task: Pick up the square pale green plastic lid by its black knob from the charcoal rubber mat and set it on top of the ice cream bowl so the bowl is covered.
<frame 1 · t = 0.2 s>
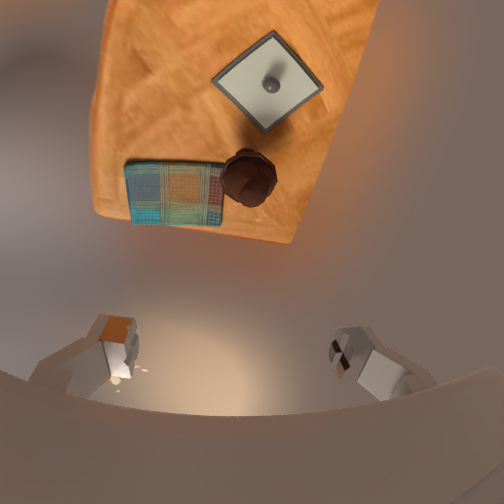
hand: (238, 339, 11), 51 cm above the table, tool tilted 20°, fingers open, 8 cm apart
mat: (268, 82, 47), on the table
dish towel: (174, 192, 63), on the table
lid: (268, 82, 47), resting on mat
ice cream bowl: (246, 159, 59), on the table
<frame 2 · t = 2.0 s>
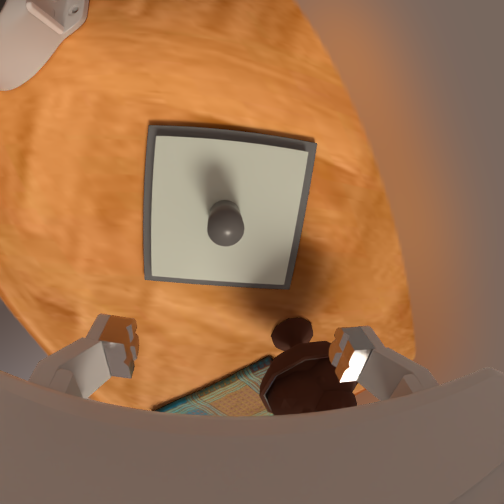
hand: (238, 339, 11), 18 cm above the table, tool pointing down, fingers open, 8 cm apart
mat: (224, 211, 27), on the table
dish towel: (235, 408, 41), on the table
lid: (224, 213, 27), resting on mat
ice cream bowl: (292, 333, 35), on the table
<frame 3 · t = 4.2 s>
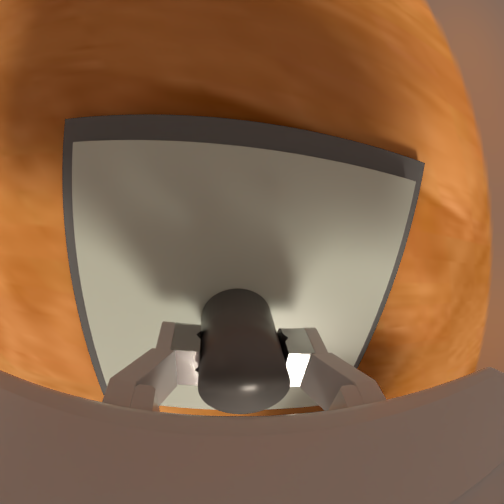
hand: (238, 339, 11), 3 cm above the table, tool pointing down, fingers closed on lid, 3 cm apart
mat: (235, 302, 13), on the table
lid: (235, 307, 13), resting on mat, touching gripper
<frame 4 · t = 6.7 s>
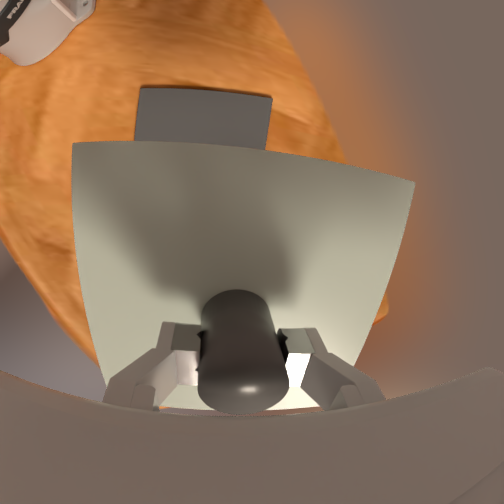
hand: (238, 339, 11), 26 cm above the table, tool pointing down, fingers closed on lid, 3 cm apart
mat: (197, 153, 32), on the table
lid: (234, 308, 13), point 24 cm above the table, touching gripper
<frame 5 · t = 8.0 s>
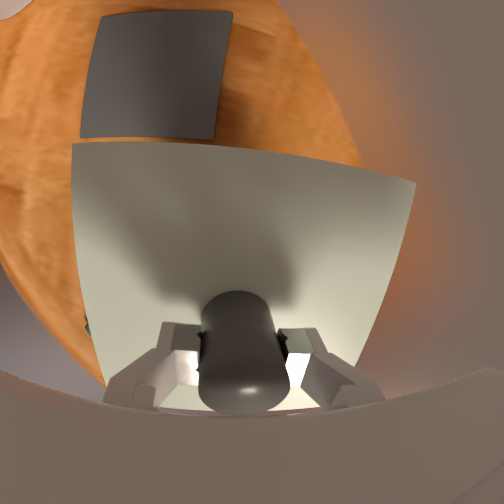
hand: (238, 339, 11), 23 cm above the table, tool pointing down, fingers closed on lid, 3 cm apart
mat: (151, 69, 24), on the table
lid: (235, 309, 13), point 21 cm above the table, touching gripper
when the fingers open (19 cm above the table, at t = 9.3 s): lid drops 2 cm, resting on ice cream bowl.
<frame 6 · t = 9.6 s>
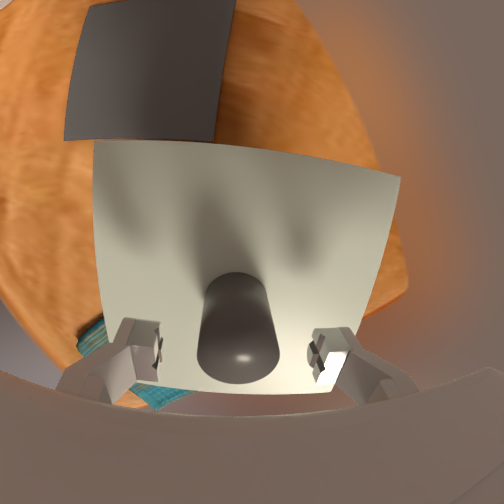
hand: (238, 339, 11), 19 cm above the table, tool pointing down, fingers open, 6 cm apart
mat: (143, 62, 21), on the table
dish towel: (171, 341, 34), on the table
lid: (235, 292, 14), point 15 cm above the table, touching ice cream bowl
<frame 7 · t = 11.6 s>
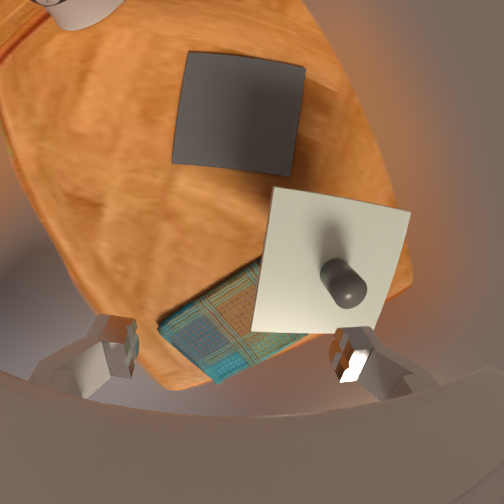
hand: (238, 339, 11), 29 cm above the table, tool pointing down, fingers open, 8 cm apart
mat: (239, 111, 33), on the table
dish towel: (240, 322, 46), on the table
lid: (331, 269, 26), point 15 cm above the table, touching ice cream bowl
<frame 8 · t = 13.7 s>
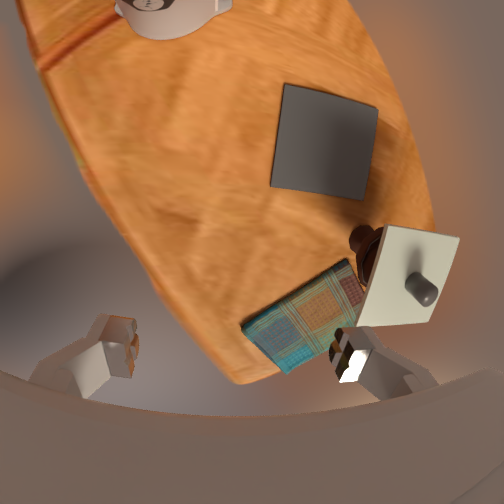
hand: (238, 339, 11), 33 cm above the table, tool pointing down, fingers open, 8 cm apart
mat: (327, 144, 40), on the table
dish towel: (311, 319, 53), on the table
lid: (410, 279, 33), point 15 cm above the table, touching ice cream bowl
ice cream bowl: (362, 239, 47), on the table, touching lid
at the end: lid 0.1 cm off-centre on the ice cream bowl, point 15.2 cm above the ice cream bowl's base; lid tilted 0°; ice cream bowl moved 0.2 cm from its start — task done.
